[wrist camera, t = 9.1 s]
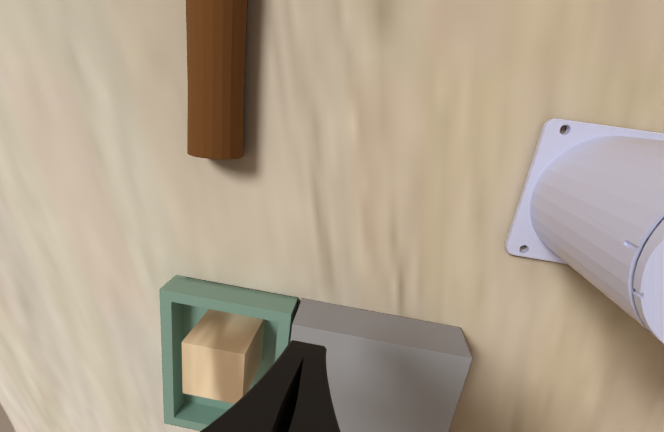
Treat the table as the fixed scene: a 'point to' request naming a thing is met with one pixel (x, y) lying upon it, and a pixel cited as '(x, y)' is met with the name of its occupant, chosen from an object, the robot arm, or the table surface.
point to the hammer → (216, 77)
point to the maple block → (222, 356)
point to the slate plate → (386, 367)
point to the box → (181, 317)
